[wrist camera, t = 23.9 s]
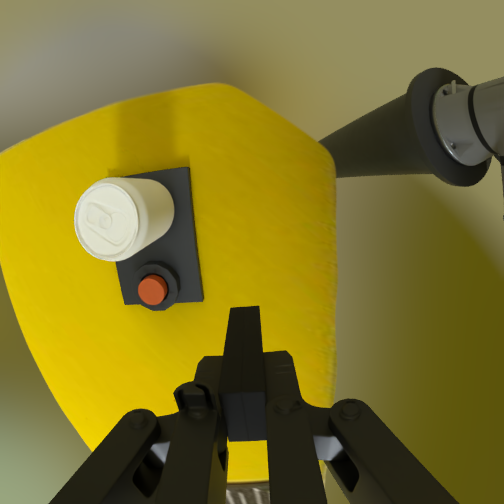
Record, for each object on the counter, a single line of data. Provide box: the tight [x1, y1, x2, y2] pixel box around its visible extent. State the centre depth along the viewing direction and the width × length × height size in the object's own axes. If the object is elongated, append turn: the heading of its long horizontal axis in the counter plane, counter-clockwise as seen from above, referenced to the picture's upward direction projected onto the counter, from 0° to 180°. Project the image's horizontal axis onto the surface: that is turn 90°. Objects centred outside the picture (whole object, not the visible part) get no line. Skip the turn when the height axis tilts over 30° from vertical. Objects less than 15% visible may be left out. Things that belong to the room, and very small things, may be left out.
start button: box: [138, 275, 167, 305], centre depth 34 cm, size 4×4×2 cm
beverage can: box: [74, 177, 174, 261], centre depth 28 cm, size 8×8×12 cm
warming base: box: [116, 167, 204, 311], centre depth 35 cm, size 18×12×3 cm, turn 4°
